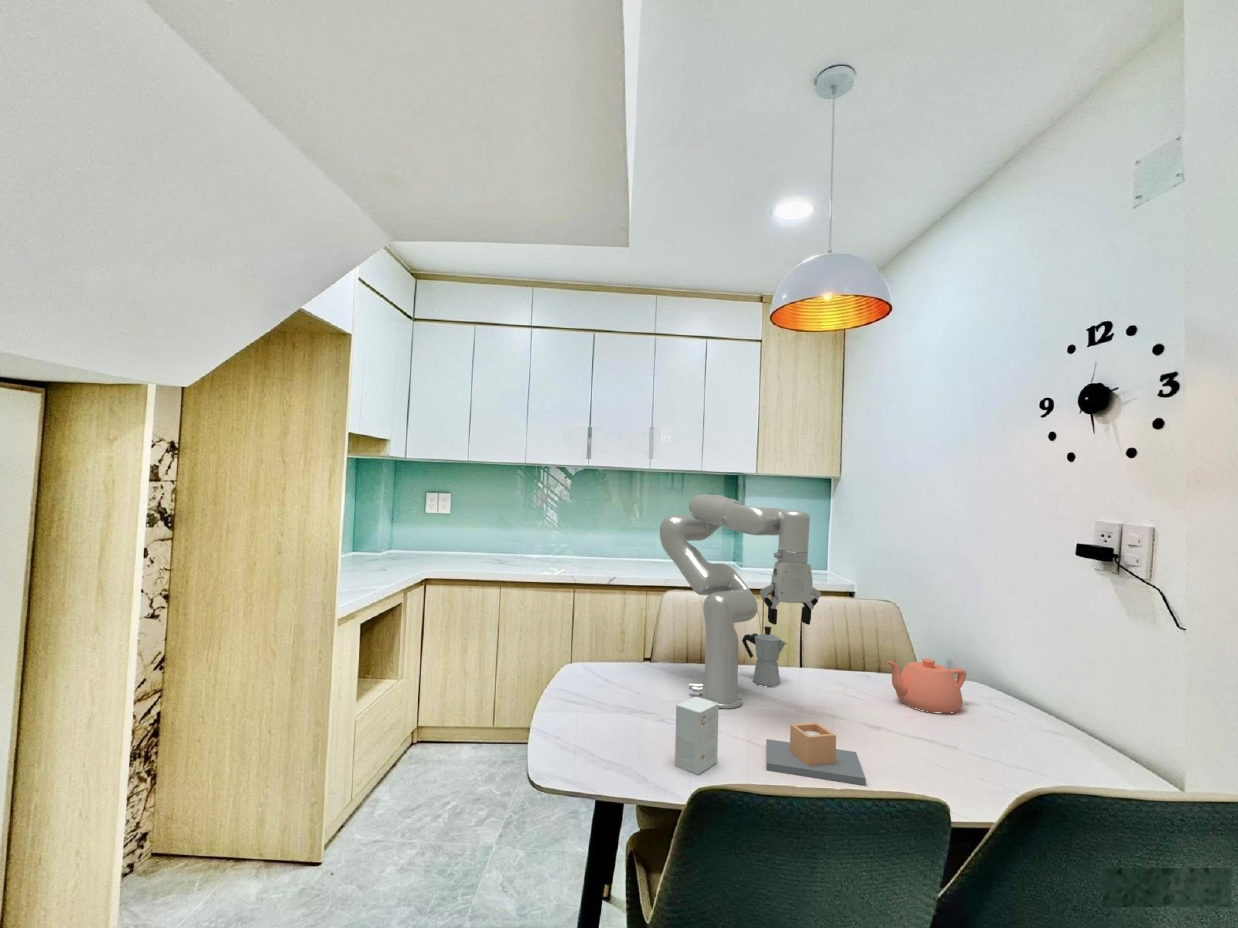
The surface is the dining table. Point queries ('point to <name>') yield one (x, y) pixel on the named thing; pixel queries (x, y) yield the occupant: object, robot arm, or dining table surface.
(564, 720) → the dining table surface
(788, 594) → the robot arm
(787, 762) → the grey plate with peg
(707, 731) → the small box
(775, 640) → the coffee maker
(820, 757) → the collar
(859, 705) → the dining table surface
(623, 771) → the dining table surface
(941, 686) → the teapot
